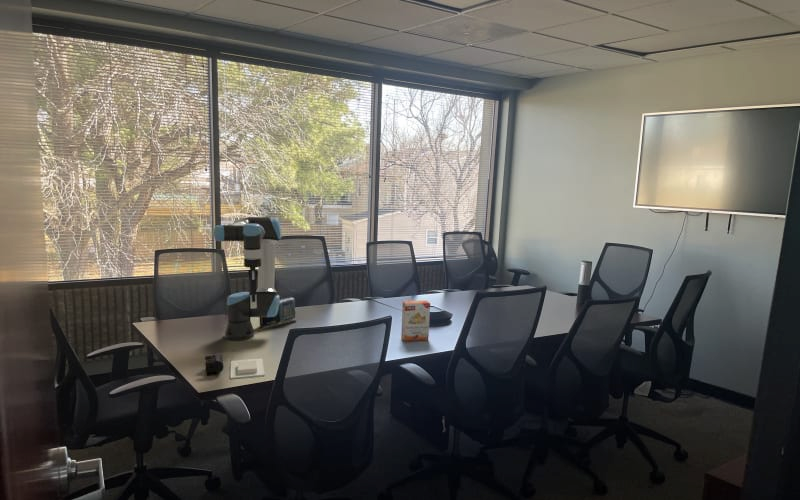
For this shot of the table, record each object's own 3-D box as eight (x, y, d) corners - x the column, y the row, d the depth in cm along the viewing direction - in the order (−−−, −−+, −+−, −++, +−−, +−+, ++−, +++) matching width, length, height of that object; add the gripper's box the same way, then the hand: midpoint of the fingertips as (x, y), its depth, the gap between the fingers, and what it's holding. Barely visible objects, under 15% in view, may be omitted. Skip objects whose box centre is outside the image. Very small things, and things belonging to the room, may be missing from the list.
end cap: (223, 374, 219) (223, 359, 218) (206, 377, 216) (205, 361, 215) (222, 366, 228) (221, 352, 227) (205, 368, 225) (205, 354, 224)
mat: (230, 362, 233) (230, 360, 233) (262, 359, 237) (262, 358, 237) (230, 379, 214) (230, 377, 214) (264, 375, 219) (264, 374, 219)
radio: (260, 329, 283) (259, 303, 280) (254, 325, 289) (253, 300, 287) (298, 323, 297) (298, 298, 294) (291, 319, 303) (291, 295, 301)
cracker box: (404, 342, 267) (405, 303, 264) (400, 338, 273) (402, 300, 270) (429, 340, 271) (430, 302, 268) (425, 337, 277) (426, 299, 274)
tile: (237, 361, 227) (237, 370, 218) (256, 360, 229) (256, 368, 220) (237, 366, 227) (237, 374, 218) (256, 364, 230) (257, 372, 220)
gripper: (243, 255, 234) (244, 304, 239) (244, 261, 222) (245, 312, 226) (260, 254, 237) (261, 303, 241) (261, 260, 224) (262, 311, 229)
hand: (253, 307), depth 234 cm, fingers closed
